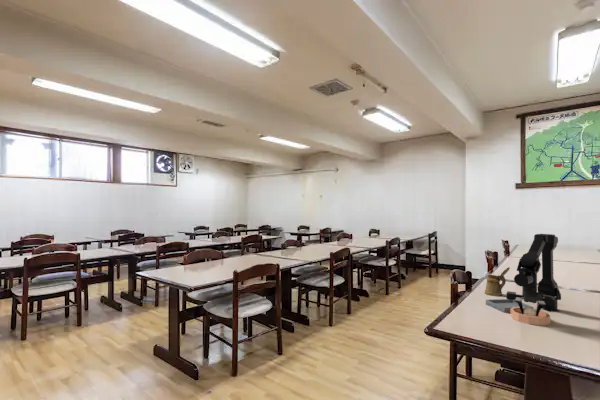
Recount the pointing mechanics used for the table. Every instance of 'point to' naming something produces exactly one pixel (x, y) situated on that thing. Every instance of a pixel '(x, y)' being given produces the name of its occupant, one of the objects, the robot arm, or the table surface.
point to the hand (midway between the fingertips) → (529, 316)
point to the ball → (529, 311)
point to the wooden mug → (495, 284)
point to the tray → (504, 304)
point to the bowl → (530, 317)
